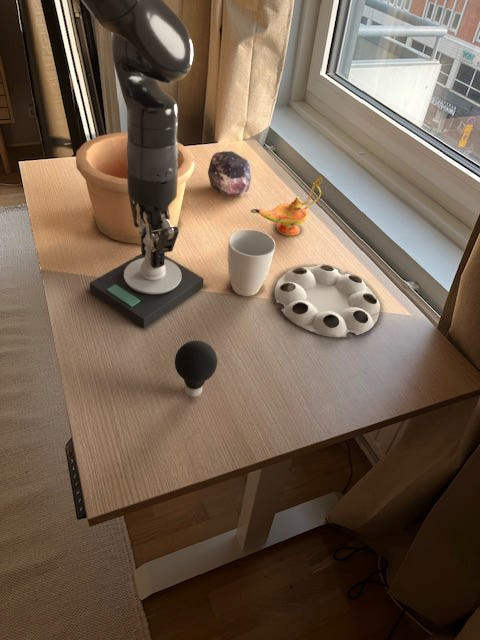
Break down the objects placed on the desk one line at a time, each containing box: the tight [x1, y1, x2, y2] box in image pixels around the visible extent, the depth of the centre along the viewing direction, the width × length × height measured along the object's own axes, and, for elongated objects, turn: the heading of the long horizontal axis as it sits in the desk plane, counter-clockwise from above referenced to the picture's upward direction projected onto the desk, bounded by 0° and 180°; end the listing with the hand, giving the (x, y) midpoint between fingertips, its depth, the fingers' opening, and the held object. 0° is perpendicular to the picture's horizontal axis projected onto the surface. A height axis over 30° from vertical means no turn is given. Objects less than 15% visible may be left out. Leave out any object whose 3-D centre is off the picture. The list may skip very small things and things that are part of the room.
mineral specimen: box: [207, 150, 252, 198], centre depth 117 cm, size 10×10×10 cm
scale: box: [89, 253, 205, 328], centre depth 91 cm, size 15×13×3 cm
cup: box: [227, 228, 276, 297], centre depth 92 cm, size 8×8×10 cm
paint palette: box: [274, 264, 381, 338], centre depth 95 cm, size 20×20×2 cm
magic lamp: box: [250, 176, 323, 236], centre depth 107 cm, size 7×18×11 cm, turn 122°
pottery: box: [75, 131, 195, 245], centre depth 103 cm, size 22×22×14 cm
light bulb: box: [174, 339, 218, 398], centre depth 73 cm, size 6×6×10 cm
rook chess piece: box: [140, 235, 166, 281], centre depth 88 cm, size 4×4×8 cm
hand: (152, 259), depth 89 cm, fingers closed on rook chess piece, 3 cm apart
